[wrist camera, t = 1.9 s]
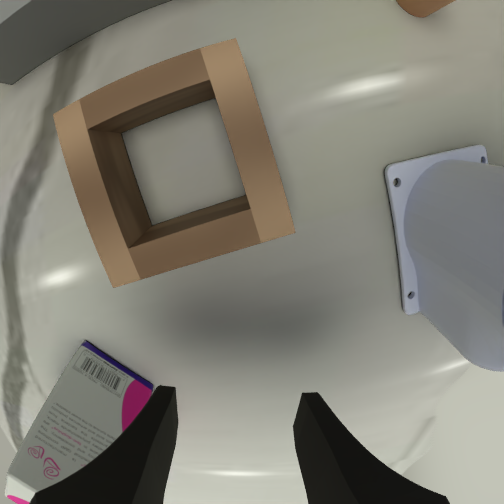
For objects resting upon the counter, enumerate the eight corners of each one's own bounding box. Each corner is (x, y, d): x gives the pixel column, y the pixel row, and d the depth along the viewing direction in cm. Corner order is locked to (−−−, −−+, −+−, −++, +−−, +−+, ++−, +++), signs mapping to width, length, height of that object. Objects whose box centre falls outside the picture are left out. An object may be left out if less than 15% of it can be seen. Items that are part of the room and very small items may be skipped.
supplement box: (61, 382, 19) (-1, 494, 8) (85, 337, 18) (4, 471, 7) (123, 422, 21) (87, 543, 10) (156, 385, 19) (120, 533, 8)
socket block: (281, 212, 16) (295, 232, 12) (138, 257, 16) (113, 287, 13) (236, 64, 14) (235, 38, 10) (91, 120, 14) (53, 114, 10)
